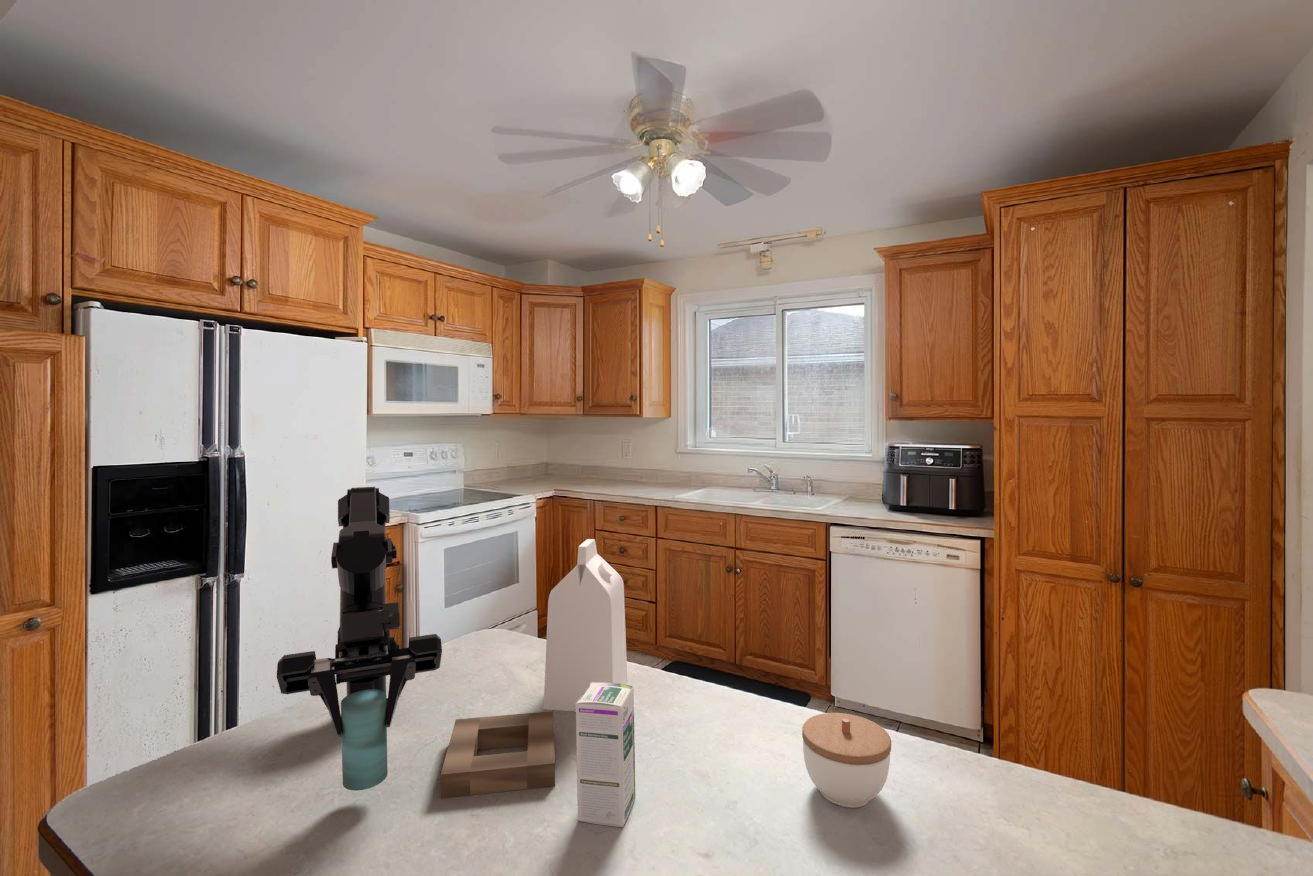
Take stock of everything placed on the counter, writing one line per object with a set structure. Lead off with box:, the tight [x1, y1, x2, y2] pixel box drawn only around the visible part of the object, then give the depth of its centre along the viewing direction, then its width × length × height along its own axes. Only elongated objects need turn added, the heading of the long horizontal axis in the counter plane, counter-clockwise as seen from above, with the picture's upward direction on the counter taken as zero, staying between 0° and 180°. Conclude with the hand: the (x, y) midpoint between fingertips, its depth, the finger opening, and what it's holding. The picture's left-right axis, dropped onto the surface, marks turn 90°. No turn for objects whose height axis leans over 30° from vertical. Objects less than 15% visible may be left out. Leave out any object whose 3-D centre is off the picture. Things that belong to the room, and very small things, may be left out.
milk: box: [543, 538, 628, 712], centre depth 105 cm, size 12×12×26 cm
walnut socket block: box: [440, 710, 556, 799], centre depth 85 cm, size 14×14×3 cm
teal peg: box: [340, 689, 388, 791], centre depth 76 cm, size 5×5×10 cm
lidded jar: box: [801, 712, 892, 809], centre depth 78 cm, size 11×11×9 cm
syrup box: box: [575, 682, 636, 828], centre depth 75 cm, size 6×6×14 cm
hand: (364, 730), depth 75 cm, fingers closed on teal peg, 5 cm apart
